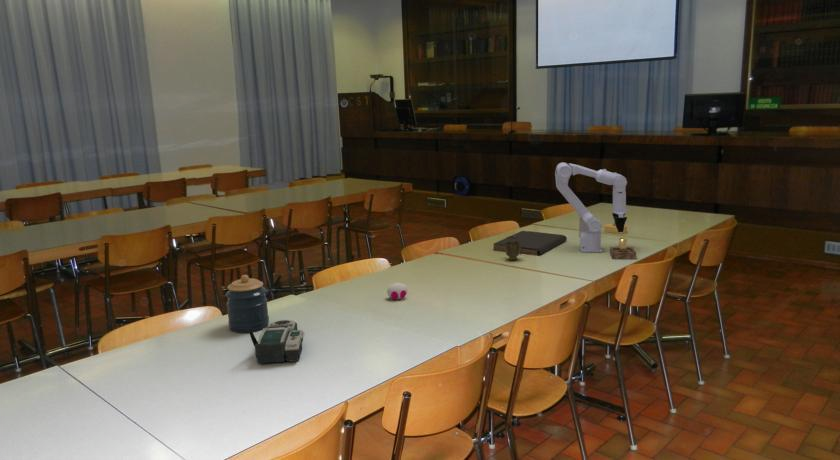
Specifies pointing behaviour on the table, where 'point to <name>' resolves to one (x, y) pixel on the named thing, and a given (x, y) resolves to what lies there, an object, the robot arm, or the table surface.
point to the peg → (622, 244)
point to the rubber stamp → (614, 228)
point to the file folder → (532, 242)
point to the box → (622, 253)
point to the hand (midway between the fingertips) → (619, 230)
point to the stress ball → (397, 290)
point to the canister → (247, 305)
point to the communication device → (278, 342)
